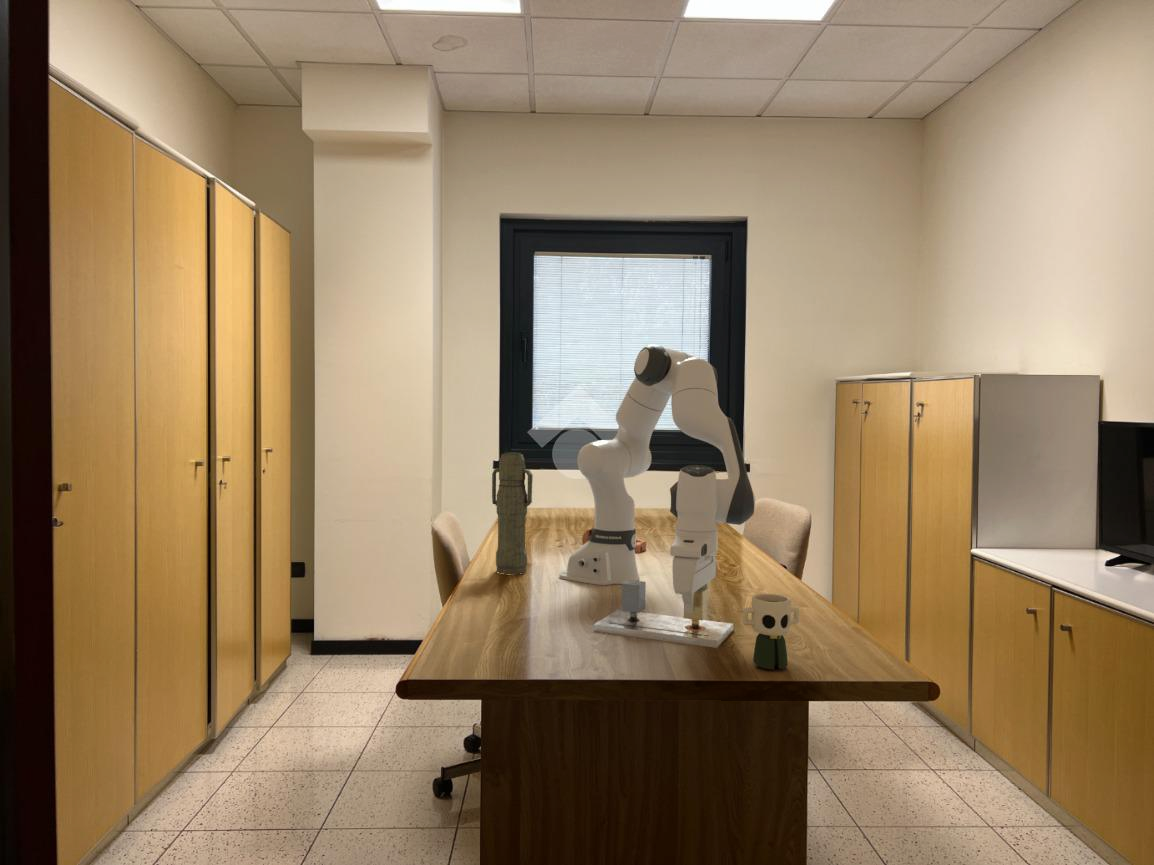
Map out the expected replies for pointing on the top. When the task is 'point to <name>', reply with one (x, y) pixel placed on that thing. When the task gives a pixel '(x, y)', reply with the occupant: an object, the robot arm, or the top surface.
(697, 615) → the wooden block peg
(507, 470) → the brown tall vase
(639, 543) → the crank
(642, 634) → the bolt plate
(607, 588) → the top surface
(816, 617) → the top surface
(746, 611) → the character mug
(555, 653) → the top surface
